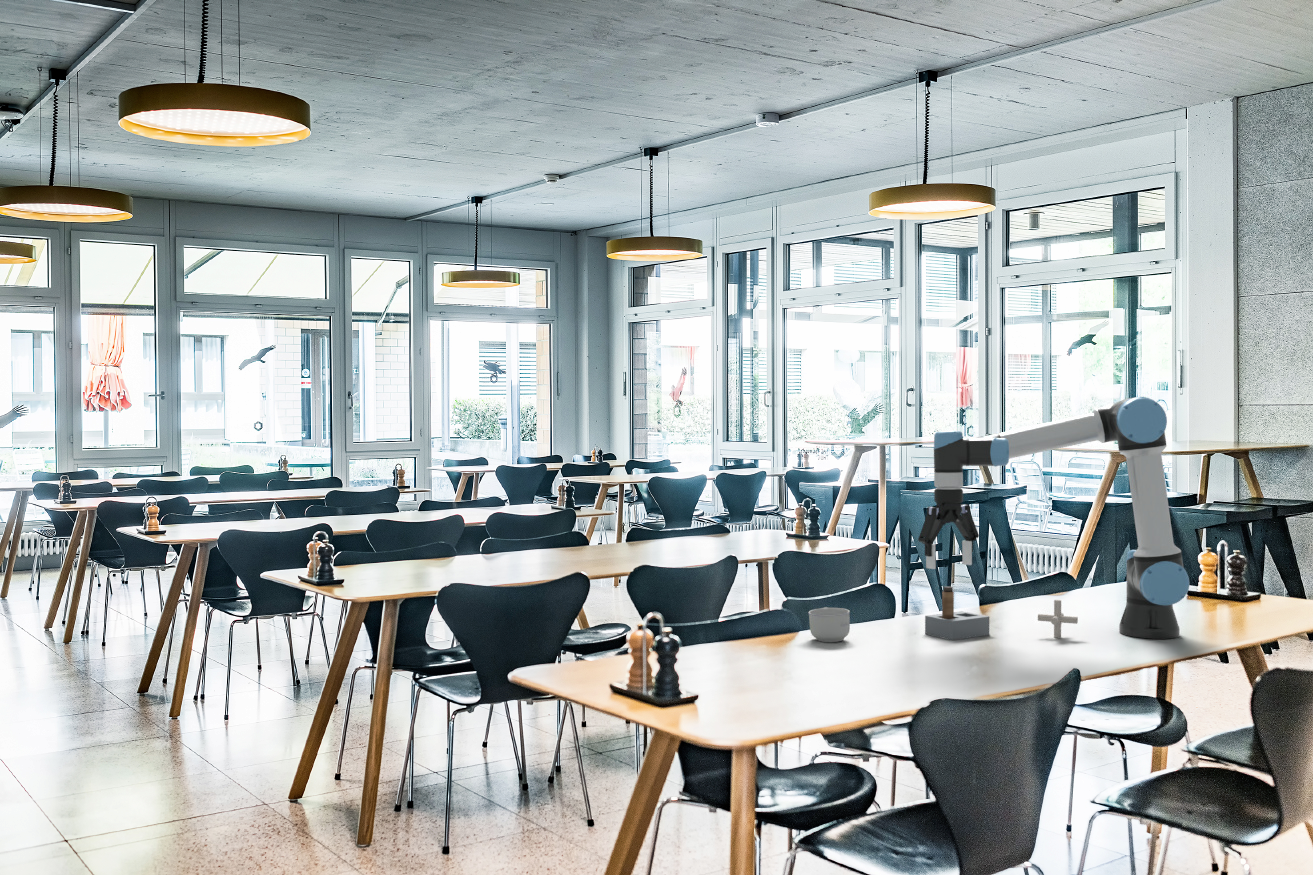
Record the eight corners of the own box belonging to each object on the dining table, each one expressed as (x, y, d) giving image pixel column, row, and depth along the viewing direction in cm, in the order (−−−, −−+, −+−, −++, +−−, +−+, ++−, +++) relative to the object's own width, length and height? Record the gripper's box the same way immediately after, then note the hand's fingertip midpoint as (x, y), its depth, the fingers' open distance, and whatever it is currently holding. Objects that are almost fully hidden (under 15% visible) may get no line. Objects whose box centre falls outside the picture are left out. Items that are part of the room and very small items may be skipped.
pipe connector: (1034, 638, 312) (1035, 601, 312) (1041, 632, 321) (1041, 596, 321) (1074, 642, 307) (1074, 604, 307) (1079, 635, 316) (1080, 598, 316)
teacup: (848, 645, 303) (849, 614, 303) (806, 643, 306) (807, 612, 306) (850, 635, 317) (851, 605, 317) (810, 633, 319) (810, 604, 319)
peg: (955, 635, 316) (956, 587, 315) (947, 637, 314) (948, 588, 314) (947, 634, 318) (948, 585, 318) (939, 635, 317) (940, 586, 316)
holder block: (989, 634, 317) (989, 616, 317) (952, 639, 310) (952, 621, 310) (961, 629, 326) (961, 611, 326) (925, 633, 319) (925, 615, 319)
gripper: (970, 485, 325) (971, 561, 326) (904, 489, 312) (905, 568, 313) (991, 486, 319) (992, 564, 319) (924, 490, 306) (925, 571, 306)
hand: (949, 566), depth 316 cm, fingers open, 13 cm apart
